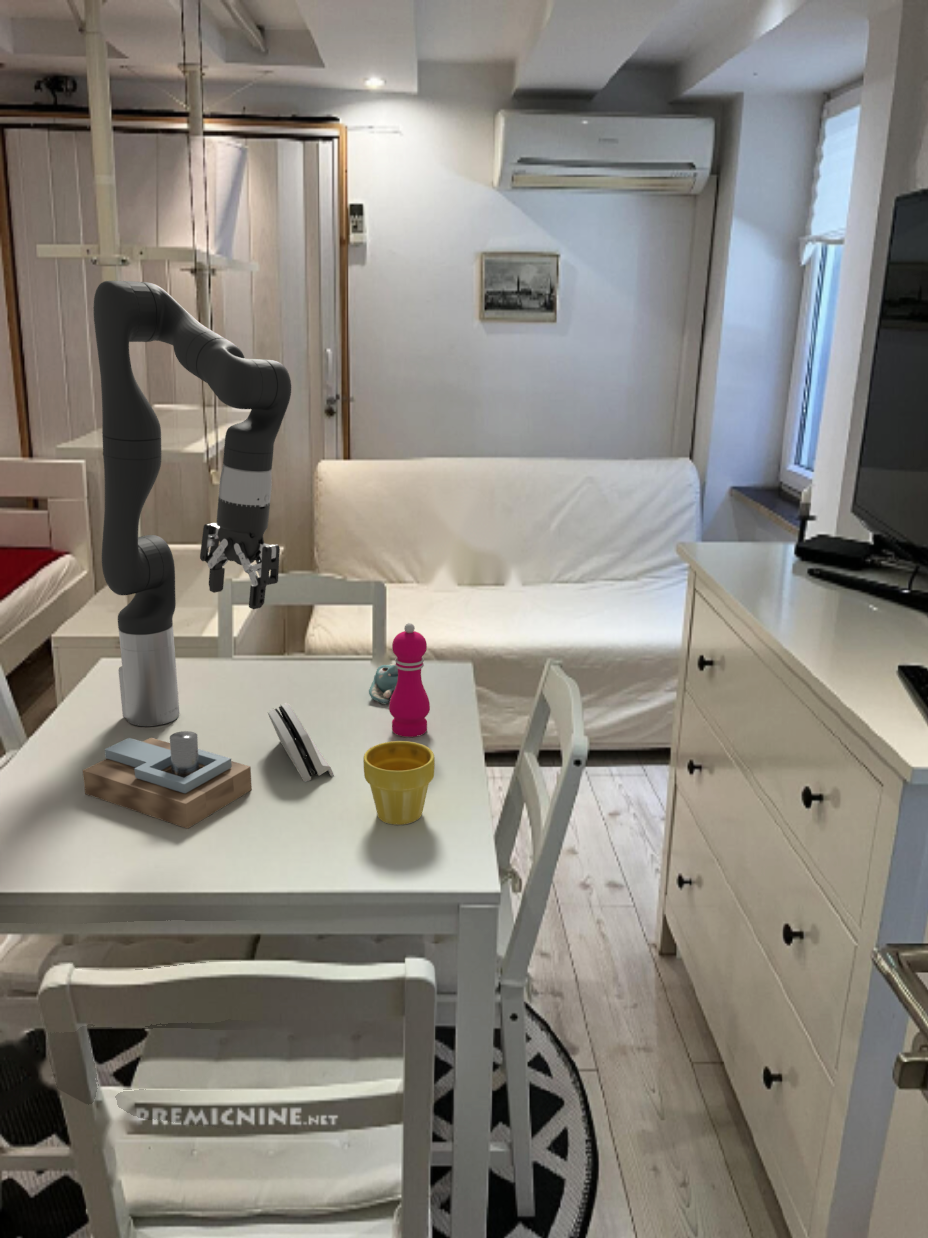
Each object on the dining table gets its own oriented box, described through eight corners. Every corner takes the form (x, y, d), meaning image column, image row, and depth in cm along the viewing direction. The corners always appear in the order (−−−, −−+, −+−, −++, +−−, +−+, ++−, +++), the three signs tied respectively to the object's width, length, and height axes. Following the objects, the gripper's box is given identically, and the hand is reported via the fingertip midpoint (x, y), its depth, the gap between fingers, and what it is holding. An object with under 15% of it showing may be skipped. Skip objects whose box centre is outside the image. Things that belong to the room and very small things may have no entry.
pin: (167, 798, 153) (164, 737, 151) (188, 789, 157) (185, 729, 154) (185, 805, 151) (181, 743, 149) (205, 796, 154) (203, 735, 152)
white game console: (335, 776, 161) (312, 725, 157) (308, 790, 160) (284, 739, 156) (308, 736, 176) (287, 688, 172) (283, 748, 175) (261, 701, 171)
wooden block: (85, 793, 154) (82, 770, 153) (152, 759, 166) (150, 737, 165) (187, 828, 145) (185, 803, 144) (251, 789, 157) (250, 766, 155)
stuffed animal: (380, 687, 184) (359, 656, 194) (378, 720, 188) (357, 687, 197) (434, 679, 189) (411, 649, 198) (431, 712, 192) (409, 680, 201)
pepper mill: (382, 734, 177) (381, 626, 171) (400, 719, 184) (399, 615, 178) (419, 741, 175) (419, 632, 169) (436, 726, 181) (437, 620, 175)
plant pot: (377, 838, 143) (376, 775, 140) (355, 805, 152) (354, 746, 149) (444, 824, 147) (445, 763, 144) (419, 793, 156) (419, 736, 153)
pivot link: (92, 764, 155) (91, 755, 154) (141, 740, 163) (140, 732, 163) (185, 793, 146) (184, 784, 146) (231, 767, 155) (231, 758, 154)
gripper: (192, 486, 149) (184, 590, 154) (261, 510, 142) (250, 618, 147) (229, 483, 155) (221, 582, 160) (297, 506, 148) (286, 609, 153)
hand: (235, 599), depth 154 cm, fingers open, 8 cm apart
